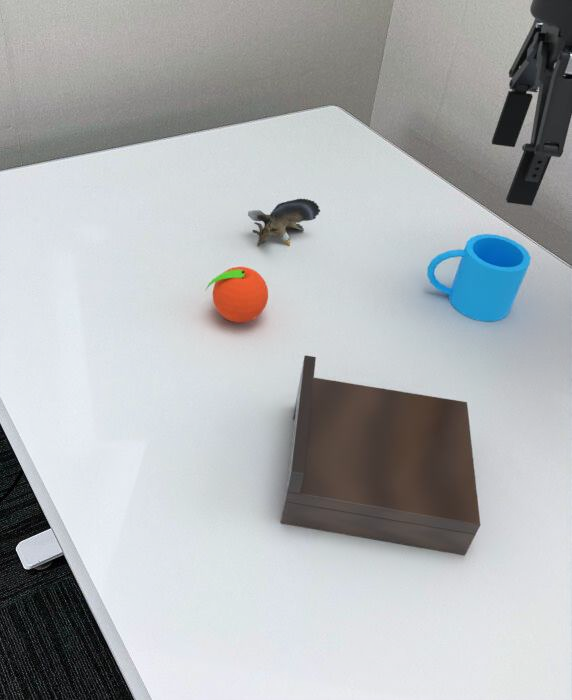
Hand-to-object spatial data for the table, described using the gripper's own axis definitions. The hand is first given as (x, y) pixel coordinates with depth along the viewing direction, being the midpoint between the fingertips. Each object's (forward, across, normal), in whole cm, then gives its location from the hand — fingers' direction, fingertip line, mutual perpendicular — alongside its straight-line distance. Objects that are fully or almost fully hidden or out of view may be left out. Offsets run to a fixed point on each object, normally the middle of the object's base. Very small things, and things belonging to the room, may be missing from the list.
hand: (510, 172), depth 90 cm
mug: (+20, -1, 0) cm, 20 cm away
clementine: (+20, +9, -30) cm, 37 cm away
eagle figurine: (+20, -10, -25) cm, 34 cm away
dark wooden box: (+20, +32, -12) cm, 39 cm away
